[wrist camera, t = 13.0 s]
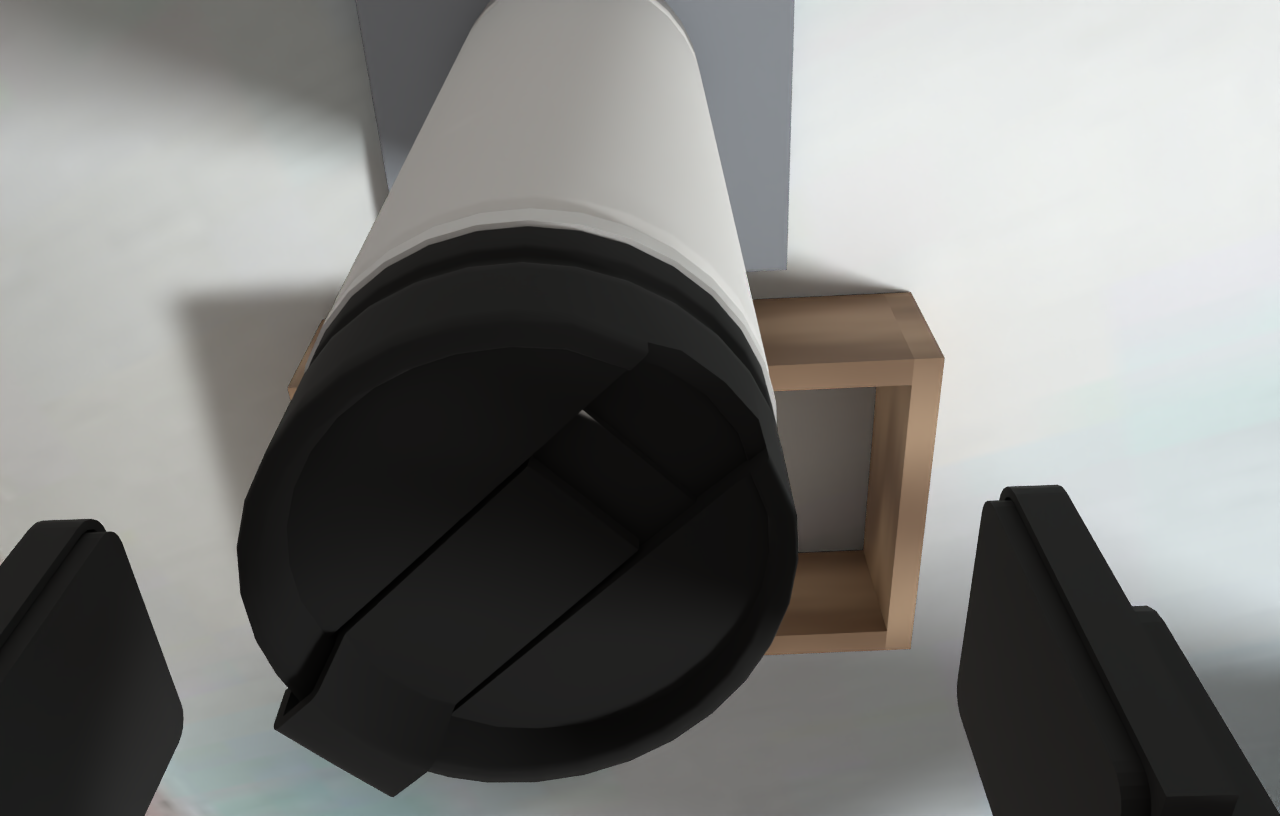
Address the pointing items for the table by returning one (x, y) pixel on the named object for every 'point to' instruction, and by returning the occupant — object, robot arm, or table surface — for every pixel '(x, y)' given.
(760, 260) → the slate mat
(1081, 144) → the table surface
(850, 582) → the wooden tray
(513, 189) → the travel mug
